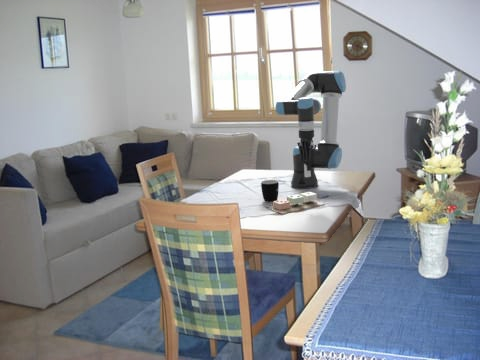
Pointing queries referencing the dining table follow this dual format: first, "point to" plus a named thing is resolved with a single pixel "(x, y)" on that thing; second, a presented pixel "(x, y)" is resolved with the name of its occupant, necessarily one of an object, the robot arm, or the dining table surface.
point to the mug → (270, 190)
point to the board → (298, 206)
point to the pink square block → (281, 204)
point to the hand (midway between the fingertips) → (307, 176)
